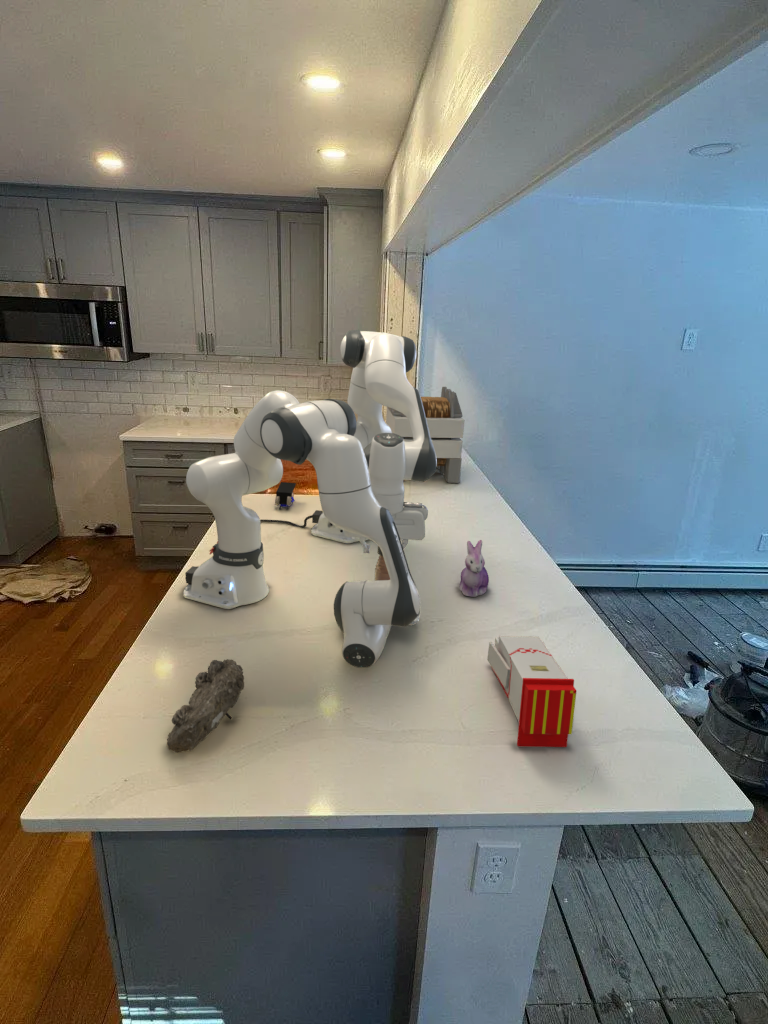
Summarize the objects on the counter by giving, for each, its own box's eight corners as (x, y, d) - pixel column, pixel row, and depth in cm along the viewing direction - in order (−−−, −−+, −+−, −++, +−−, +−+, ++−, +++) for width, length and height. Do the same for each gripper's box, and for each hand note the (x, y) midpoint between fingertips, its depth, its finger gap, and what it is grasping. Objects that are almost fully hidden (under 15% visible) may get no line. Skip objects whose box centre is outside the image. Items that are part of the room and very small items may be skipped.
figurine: (470, 601, 155) (475, 551, 150) (449, 585, 164) (454, 537, 159) (497, 594, 160) (504, 545, 154) (476, 579, 168) (481, 532, 163)
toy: (536, 619, 129) (586, 686, 99) (531, 673, 131) (578, 754, 102) (483, 618, 128) (517, 685, 99) (479, 672, 131) (511, 753, 102)
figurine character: (292, 514, 217) (296, 498, 230) (291, 496, 214) (296, 480, 227) (274, 514, 217) (280, 497, 230) (273, 496, 213) (279, 480, 227)
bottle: (396, 609, 150) (400, 544, 143) (390, 619, 145) (393, 552, 139) (377, 605, 151) (380, 540, 145) (370, 614, 146) (372, 548, 140)
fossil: (192, 660, 117) (244, 628, 112) (224, 691, 120) (276, 661, 115) (142, 746, 98) (202, 712, 93) (182, 779, 101) (242, 748, 96)
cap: (382, 547, 145) (382, 539, 144) (398, 551, 143) (398, 543, 143) (374, 554, 141) (374, 545, 141) (390, 558, 140) (391, 549, 139)
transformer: (382, 463, 289) (386, 382, 275) (445, 464, 293) (451, 384, 279) (390, 482, 257) (394, 392, 243) (460, 483, 261) (468, 394, 247)
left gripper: (418, 613, 132) (425, 587, 144) (333, 602, 135) (347, 577, 148) (416, 637, 134) (423, 608, 147) (332, 625, 137) (347, 598, 150)
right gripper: (428, 499, 140) (424, 550, 145) (345, 495, 141) (344, 546, 145) (429, 507, 134) (425, 560, 139) (343, 503, 135) (342, 556, 139)
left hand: (384, 592), depth 147 cm, fingers closed on bottle, 5 cm apart
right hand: (383, 553), depth 142 cm, fingers open, 7 cm apart
